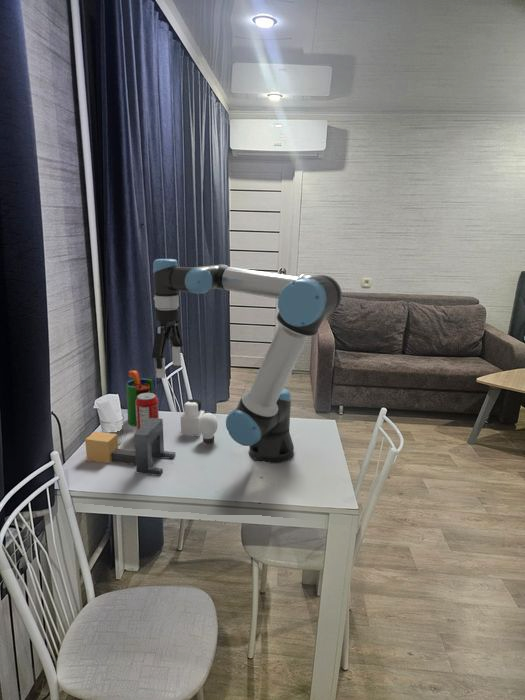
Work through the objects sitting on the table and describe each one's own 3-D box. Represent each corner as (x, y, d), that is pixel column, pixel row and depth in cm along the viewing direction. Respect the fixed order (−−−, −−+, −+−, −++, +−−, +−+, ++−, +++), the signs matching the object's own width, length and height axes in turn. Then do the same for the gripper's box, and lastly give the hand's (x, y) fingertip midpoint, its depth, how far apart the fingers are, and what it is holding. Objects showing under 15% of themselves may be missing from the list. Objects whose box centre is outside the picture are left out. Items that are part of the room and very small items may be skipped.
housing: (175, 456, 146) (174, 420, 142) (160, 475, 135) (159, 436, 131) (152, 453, 147) (151, 417, 144) (136, 472, 136) (134, 433, 132)
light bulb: (221, 440, 157) (221, 412, 154) (210, 448, 152) (210, 419, 149) (205, 436, 160) (205, 408, 157) (194, 443, 155) (194, 414, 152)
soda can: (140, 440, 156) (138, 401, 152) (134, 432, 162) (132, 393, 158) (162, 436, 160) (160, 397, 156) (155, 427, 166) (154, 390, 162)
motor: (144, 427, 166) (142, 377, 161) (123, 424, 168) (119, 375, 162) (156, 416, 176) (154, 368, 170) (135, 414, 177) (132, 367, 172)
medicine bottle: (186, 426, 168) (186, 396, 165) (205, 427, 167) (204, 398, 164) (180, 434, 161) (179, 404, 158) (199, 436, 160) (199, 405, 157)
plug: (143, 458, 144) (142, 437, 142) (136, 466, 139) (134, 445, 137) (96, 452, 147) (94, 431, 145) (87, 460, 142) (85, 439, 140)
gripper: (170, 301, 154) (172, 359, 160) (138, 314, 130) (142, 382, 136) (191, 302, 153) (192, 361, 158) (162, 316, 129) (165, 384, 135)
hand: (169, 371), depth 147 cm, fingers open, 13 cm apart
